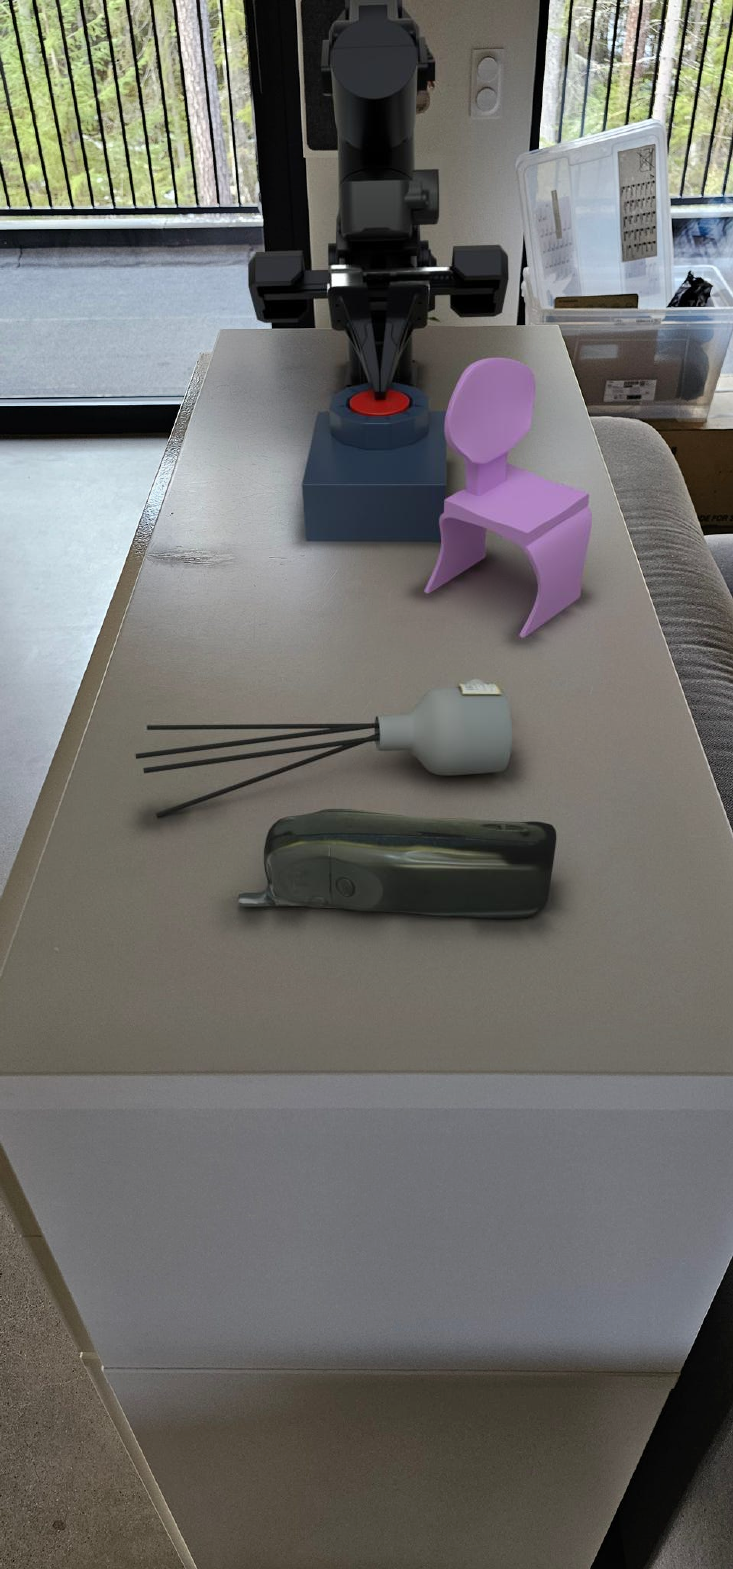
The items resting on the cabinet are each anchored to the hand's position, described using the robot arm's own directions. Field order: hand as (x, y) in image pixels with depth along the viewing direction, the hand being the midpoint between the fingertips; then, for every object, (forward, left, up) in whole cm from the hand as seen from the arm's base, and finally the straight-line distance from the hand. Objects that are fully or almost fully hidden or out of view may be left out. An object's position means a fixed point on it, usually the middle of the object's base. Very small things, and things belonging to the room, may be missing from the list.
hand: (380, 397), depth 81 cm
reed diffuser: (+34, -1, -7) cm, 35 cm away
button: (0, 0, -2) cm, 2 cm away
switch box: (+3, 0, -7) cm, 7 cm away
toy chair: (+16, +9, -7) cm, 20 cm away
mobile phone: (+43, +3, -7) cm, 44 cm away
